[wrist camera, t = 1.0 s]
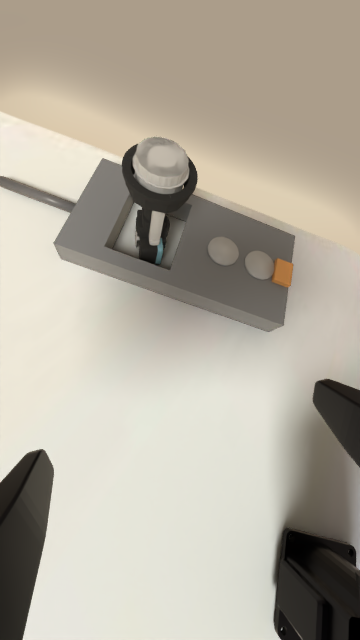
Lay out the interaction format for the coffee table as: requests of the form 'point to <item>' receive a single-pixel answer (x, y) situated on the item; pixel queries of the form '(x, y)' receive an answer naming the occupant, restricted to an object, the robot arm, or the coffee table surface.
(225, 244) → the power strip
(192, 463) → the coffee table surface
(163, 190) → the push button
